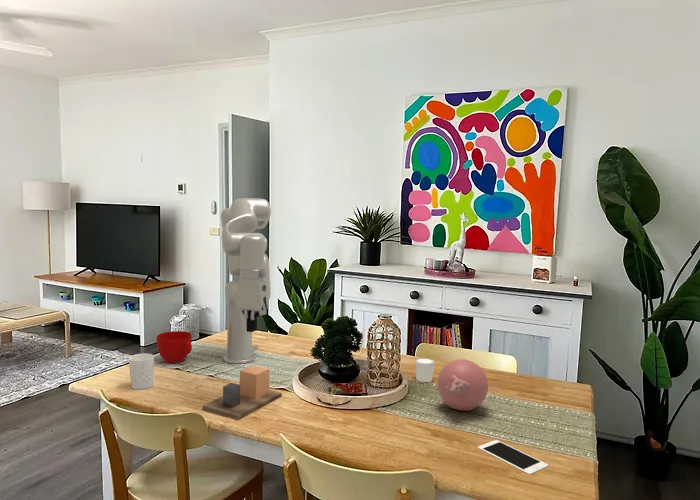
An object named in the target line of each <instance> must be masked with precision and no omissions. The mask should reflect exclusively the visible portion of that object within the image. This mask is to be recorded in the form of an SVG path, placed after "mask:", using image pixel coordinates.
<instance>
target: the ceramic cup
mask: <svg viewBox="0 0 700 500" xmlns="http://www.w3.org/2000/svg"><path fill="white" fill-rule="evenodd" d="M192 338H193V334H192V333H191V332H189V331H183V330H177V331H175V330H174V331H165V332H161V333H159V334H158V335H156V346H157V350H158V353H159V355H160V357H161V358H162V359H163V360H164V361H165V362H166V363H169V364H176V363H181V362H183V361H184V360H185V359H186V357H187V356H188V355H189V354H190V353H191V352H192V349H193V345H192Z"/></svg>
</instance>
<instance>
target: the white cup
mask: <svg viewBox="0 0 700 500" xmlns="http://www.w3.org/2000/svg"><path fill="white" fill-rule="evenodd" d="M128 363H129V379H130V387H131V389H134V390H147V389H149V388H151V387H153V385H154V375H155V355H154V354H152V353H137V354H133V355H131V356H129V358H128Z"/></svg>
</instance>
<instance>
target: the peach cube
mask: <svg viewBox="0 0 700 500" xmlns="http://www.w3.org/2000/svg"><path fill="white" fill-rule="evenodd" d="M239 385H240V395H243V396H247V397H251V398H255V399H257V398H259V397H261V396H263V395H265V394H267V393H269V390H270V368H269V367H268V368H267V367H263V366H257V365H251V366H248V367H245V368H244V369H241V370H239Z"/></svg>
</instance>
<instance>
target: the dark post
mask: <svg viewBox="0 0 700 500" xmlns="http://www.w3.org/2000/svg"><path fill="white" fill-rule="evenodd" d="M222 396H223V406H226V407H230V408H234V407H236V406H238V405H240V384H237V383H235V382H233V383H232V382H230V383H227V384H225V385H223V386H222Z"/></svg>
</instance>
